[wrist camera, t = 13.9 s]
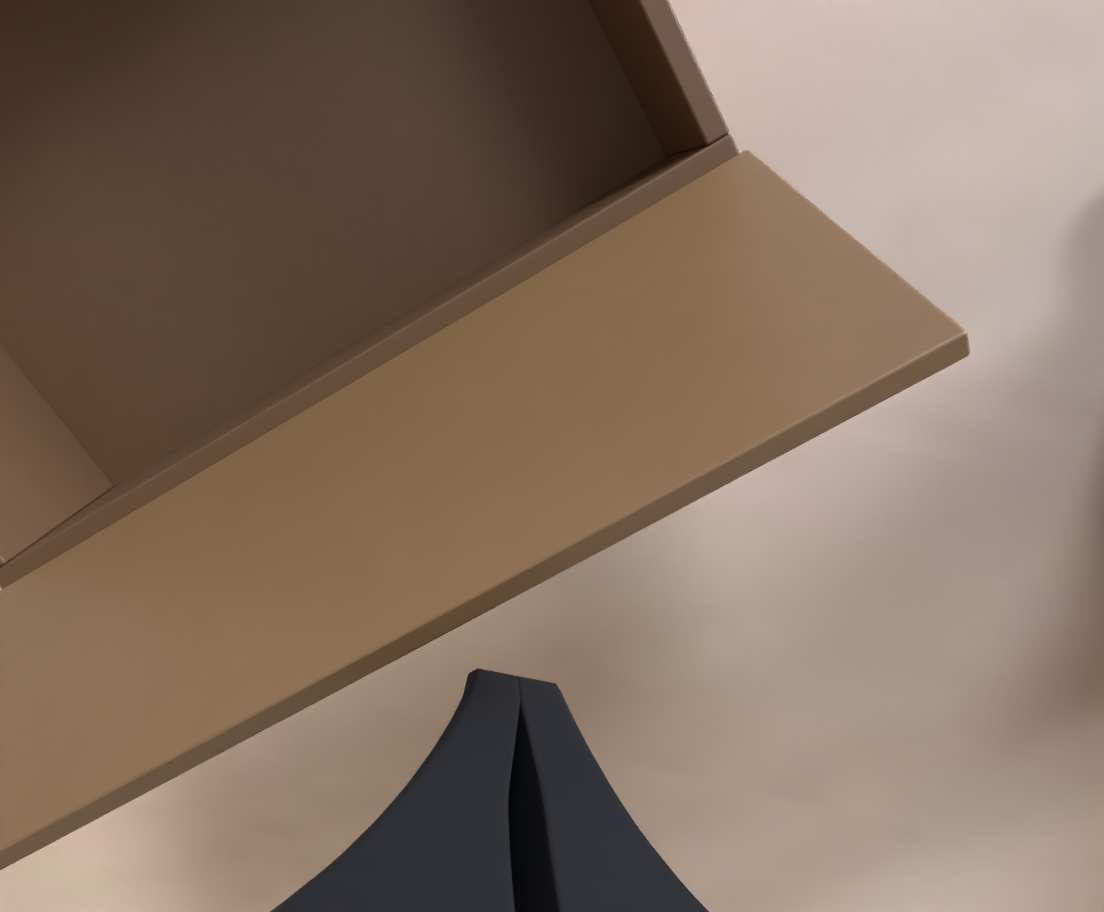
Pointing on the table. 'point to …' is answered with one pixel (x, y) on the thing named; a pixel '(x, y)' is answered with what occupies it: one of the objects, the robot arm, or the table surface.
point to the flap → (447, 487)
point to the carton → (289, 210)
